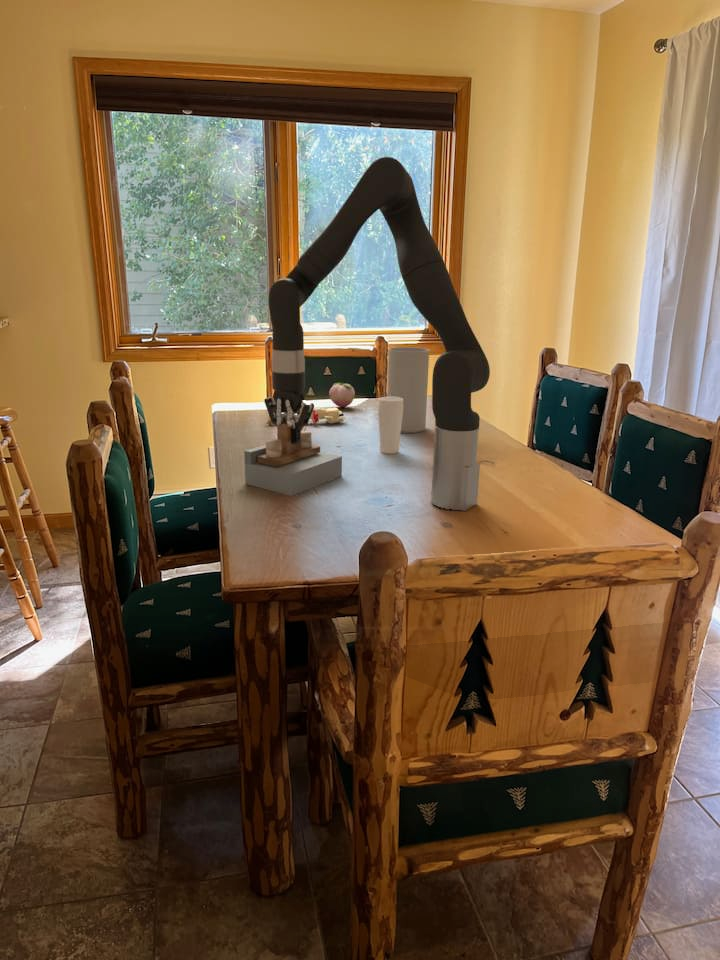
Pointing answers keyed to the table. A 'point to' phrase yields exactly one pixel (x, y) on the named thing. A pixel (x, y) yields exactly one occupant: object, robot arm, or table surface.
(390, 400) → the drinking glass
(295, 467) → the grey stepped block
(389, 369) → the cylinder vase
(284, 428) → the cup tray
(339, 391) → the decorative fruit
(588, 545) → the table surface
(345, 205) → the robot arm
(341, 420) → the cat figure
